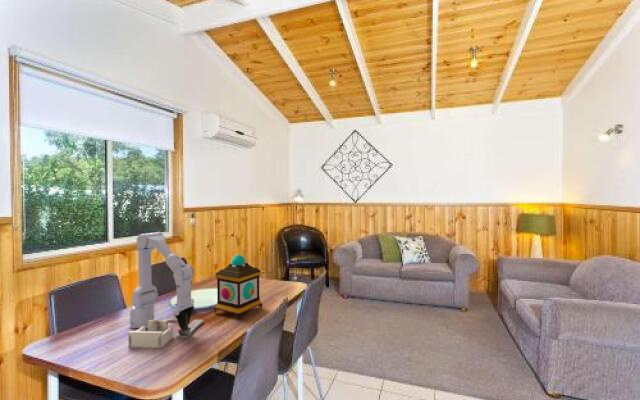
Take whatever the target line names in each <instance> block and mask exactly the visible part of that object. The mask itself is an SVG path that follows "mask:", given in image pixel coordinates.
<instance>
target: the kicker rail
mask: <svg viewBox="0 0 640 400" xmlns="http://www.w3.org/2000/svg"><path fill="white" fill-rule="evenodd" d="M204 322H205V321H204V319H194V320H192V321H191V322H189V324H188V327H191V331H190V332H189V333H188V334H176V339H188V338H189V337H190V336H191V335H192V334H193V333H194V332H195V331H196V330H197V329H199V327H200V326H202V324H203V323H204Z"/></svg>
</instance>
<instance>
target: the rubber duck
mask: <svg viewBox="0 0 640 400" xmlns="http://www.w3.org/2000/svg"><path fill="white" fill-rule="evenodd" d="M149 331H158V330H157V325H156V324H154V322H153V325H152V324H151V325H150V327H149Z"/></svg>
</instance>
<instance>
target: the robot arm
mask: <svg viewBox="0 0 640 400" xmlns="http://www.w3.org/2000/svg"><path fill="white" fill-rule="evenodd" d="M155 249H156V250H157V251H158V252H159V253H160V254H161V255H162V256H163V257H164V258H165V259H166V260H165V264H166V265H167V266H168V267H169V269H170V270H171V271H172V273H173V274H172V275H173V276H172V277H173V279H174V283H175V285H176V303H177V305H175V308H174V309H173V311H172V312H173V316H174V317H175V319H177V320H178V323H177V324H178V326H179V329H180V328H184V327H185V325H186V317H187V314H188V325H189V324H190V323H191V322H190V321H191V317H192V314H193V310H194V309H195V299H194V298H192V278H193V277H194V275H195V271H194V270H195V269H194V267H193V266H192V265H190V264H187V263H185V261H183V259H182V258H181V256H180V255H179V254H178V253H173V251H172V250H171V248H170V247H169V245H168V244H167V242H166V236H165V235H164V233H163V232H161V231H156V232H148V233H140V234H138V236H136V251H137V255H138V256H137V257H138V258H137V259H138V261H137V263H138V264H137V265H138V286H137V287H136V288H135V289H134V290H133V291H132V297H131V304H132V308H131V309H130V313H129V321H130V322H129V326H128V328H129V329H134V328H135V329H139V328H141V327H142V326H145V329H148V321H149V320H155V305H156V303H157V301H158V300H159V293H158V290H157V289H158V288H157V286H155V285H153V283H152V282H153V280H152V252H153V250H155Z"/></svg>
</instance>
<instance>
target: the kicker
mask: <svg viewBox="0 0 640 400" xmlns="http://www.w3.org/2000/svg"><path fill="white" fill-rule="evenodd" d="M153 322H154V324H156V325H157V330H158V331H160V332H164V331H166V330H167V329H168V328H169V325H168V324H179V323H178V320H177V318H166V319H154V320H149V321H148V328H147V331H149V327H150V325H151V324H152V325H153ZM188 325H189V324H188V314H187V317H186V325H185V327H184V328H180V327H179V329H178V330H177V331H178V332H177V333H178V334H188V333H189V332H190V331H191V327H188ZM178 334H177V335H178Z"/></svg>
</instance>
